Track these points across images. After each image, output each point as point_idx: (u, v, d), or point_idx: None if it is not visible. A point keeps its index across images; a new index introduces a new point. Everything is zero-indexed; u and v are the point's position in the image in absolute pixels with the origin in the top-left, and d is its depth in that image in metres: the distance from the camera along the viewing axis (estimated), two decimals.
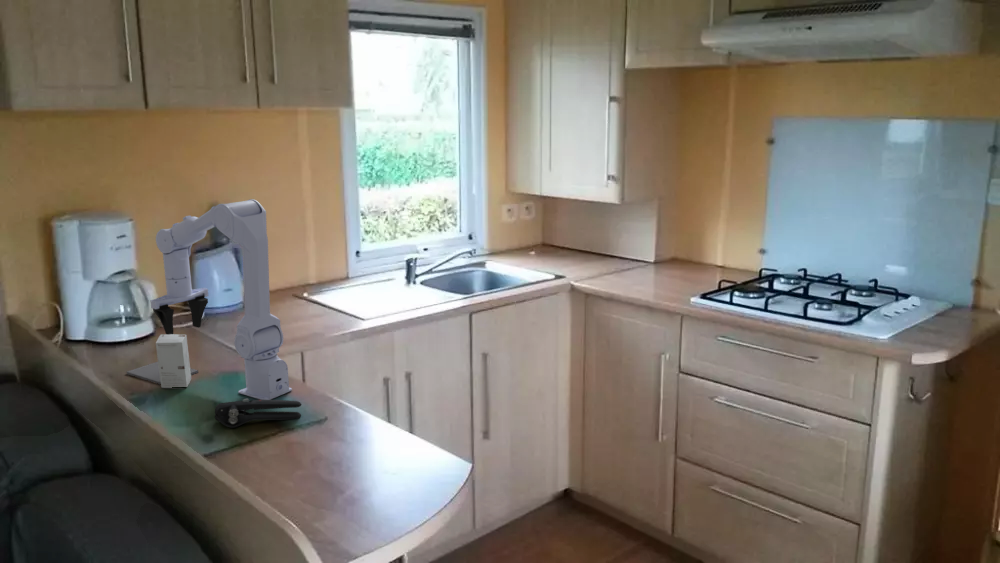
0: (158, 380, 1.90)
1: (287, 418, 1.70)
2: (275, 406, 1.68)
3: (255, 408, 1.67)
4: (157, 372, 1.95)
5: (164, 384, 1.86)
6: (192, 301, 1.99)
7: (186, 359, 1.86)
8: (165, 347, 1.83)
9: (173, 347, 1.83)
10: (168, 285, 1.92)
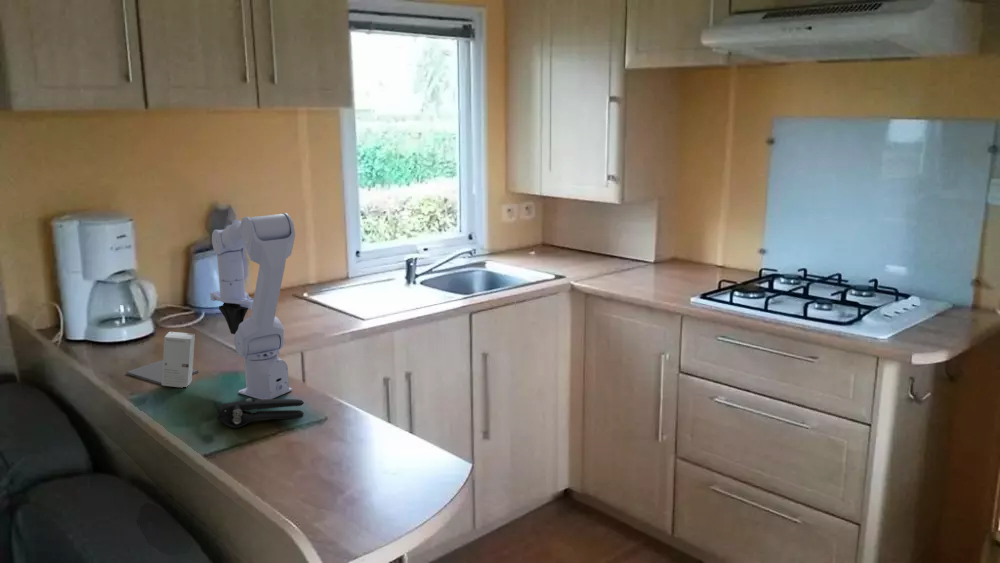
0: (158, 380, 1.90)
1: (290, 417, 1.70)
2: (278, 405, 1.69)
3: (258, 408, 1.68)
4: (157, 372, 1.95)
5: (165, 381, 1.86)
6: None
7: (191, 358, 1.88)
8: (173, 342, 1.84)
9: (181, 343, 1.85)
10: None
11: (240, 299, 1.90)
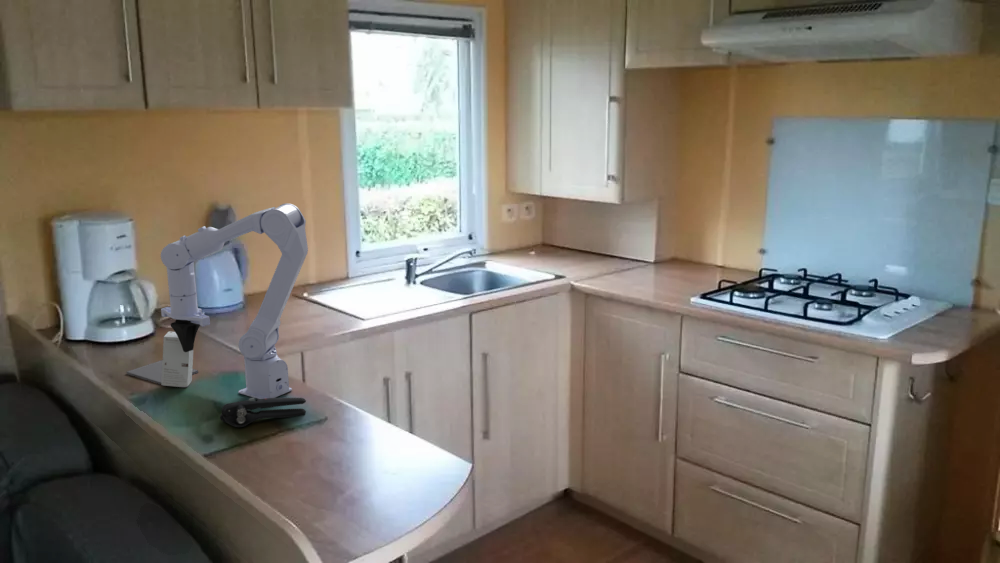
0: (158, 380, 1.90)
1: (293, 415, 1.71)
2: (281, 404, 1.70)
3: (262, 407, 1.68)
4: (157, 372, 1.95)
5: (165, 381, 1.86)
6: None
7: (190, 358, 1.88)
8: (172, 342, 1.85)
9: (180, 343, 1.85)
10: None
11: (192, 315, 1.80)
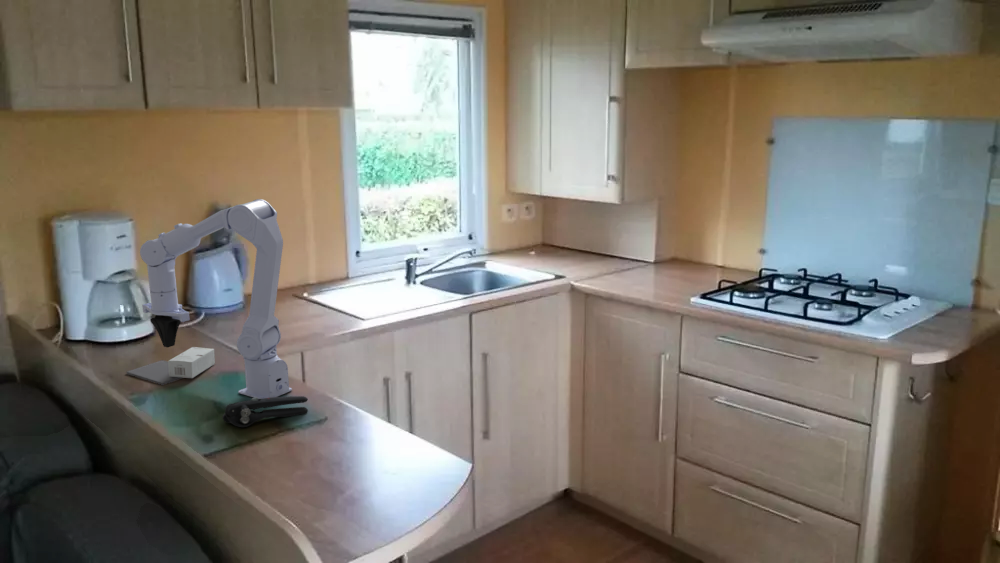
0: (158, 380, 1.90)
1: (296, 414, 1.72)
2: (284, 403, 1.70)
3: (265, 406, 1.68)
4: (157, 372, 1.95)
5: (173, 359, 1.91)
6: None
7: (204, 362, 1.97)
8: (197, 348, 2.01)
9: (204, 349, 2.01)
10: None
11: (172, 311, 1.83)
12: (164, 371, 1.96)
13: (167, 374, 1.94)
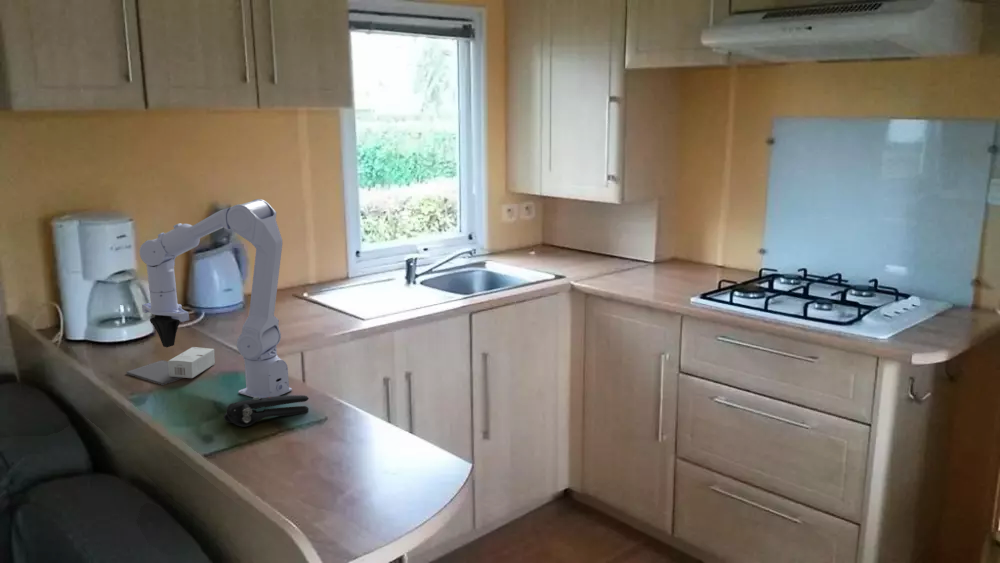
0: (158, 380, 1.90)
1: (297, 413, 1.72)
2: (285, 402, 1.71)
3: (266, 405, 1.69)
4: (157, 372, 1.95)
5: (173, 359, 1.91)
6: None
7: (204, 362, 1.97)
8: (197, 348, 2.01)
9: (204, 349, 2.01)
10: None
11: (171, 311, 1.84)
12: (164, 371, 1.96)
13: (167, 374, 1.94)
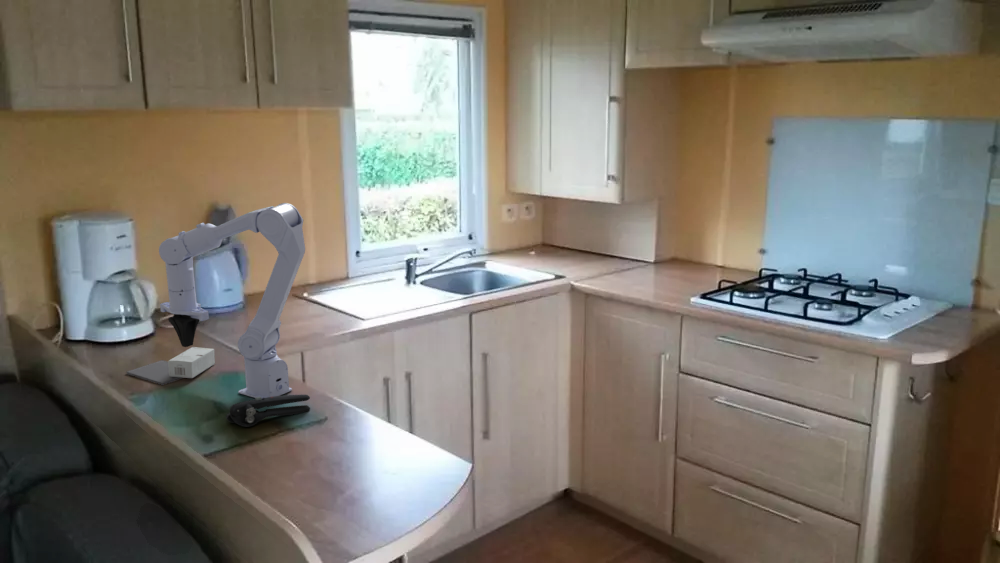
0: (158, 380, 1.90)
1: (299, 412, 1.73)
2: (287, 401, 1.71)
3: (269, 405, 1.69)
4: (157, 372, 1.95)
5: (173, 359, 1.91)
6: None
7: (204, 362, 1.97)
8: (197, 348, 2.01)
9: (204, 349, 2.01)
10: None
11: (191, 310, 1.81)
12: (164, 371, 1.96)
13: (167, 374, 1.94)
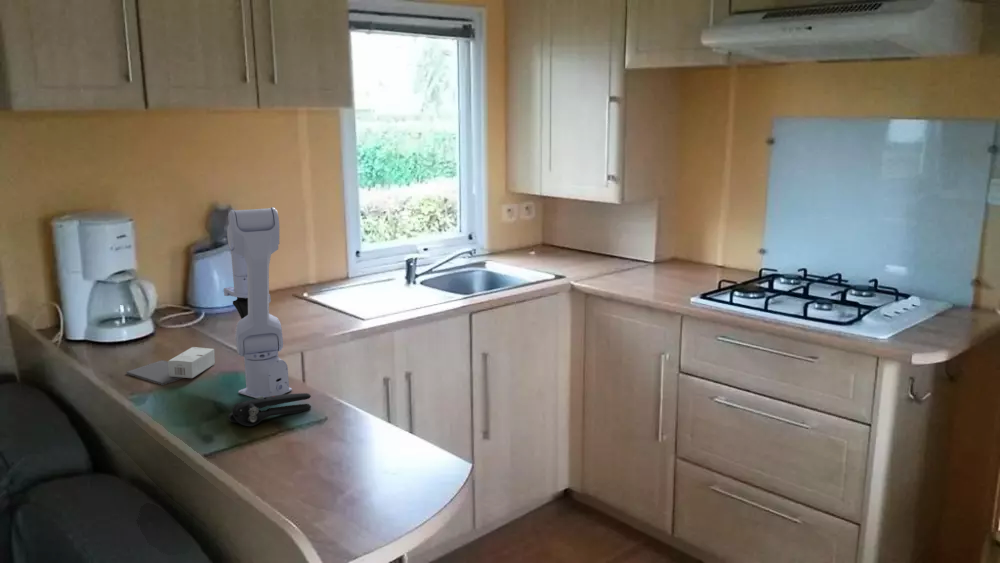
0: (158, 380, 1.90)
1: (300, 410, 1.73)
2: (289, 400, 1.72)
3: (271, 404, 1.69)
4: (157, 372, 1.95)
5: (173, 359, 1.91)
6: None
7: (204, 362, 1.97)
8: (197, 348, 2.01)
9: (204, 349, 2.01)
10: None
11: None
12: (164, 371, 1.96)
13: (167, 374, 1.94)
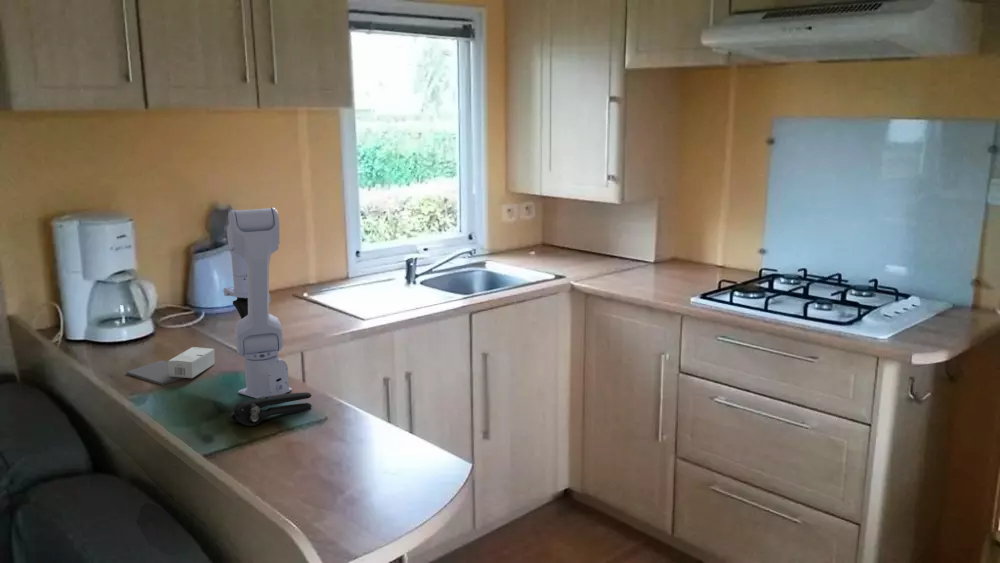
0: (158, 380, 1.90)
1: (301, 410, 1.74)
2: (290, 399, 1.72)
3: (272, 404, 1.70)
4: (157, 372, 1.95)
5: (173, 359, 1.91)
6: None
7: (204, 362, 1.97)
8: (197, 348, 2.01)
9: (204, 349, 2.01)
10: None
11: None
12: (164, 371, 1.96)
13: (167, 374, 1.94)
